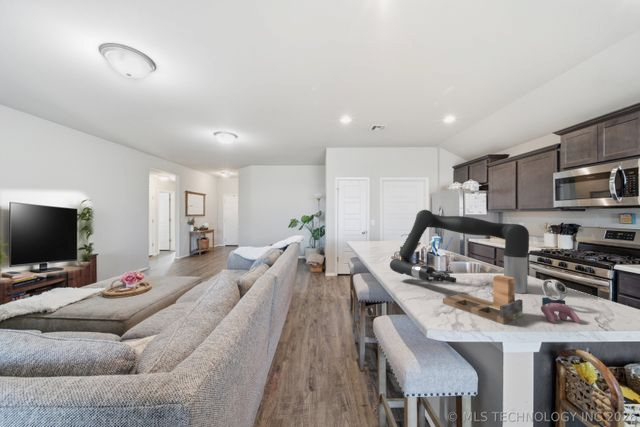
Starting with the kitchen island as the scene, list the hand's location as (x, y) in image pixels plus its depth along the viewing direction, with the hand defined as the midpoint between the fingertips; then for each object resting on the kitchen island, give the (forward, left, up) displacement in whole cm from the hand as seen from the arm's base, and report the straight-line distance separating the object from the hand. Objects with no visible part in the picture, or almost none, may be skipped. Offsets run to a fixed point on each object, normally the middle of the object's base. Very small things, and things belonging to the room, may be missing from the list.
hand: (455, 280), depth 111 cm
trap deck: (+4, +12, -8) cm, 15 cm away
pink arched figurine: (-10, +32, -8) cm, 35 cm away
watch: (-25, +26, -8) cm, 37 cm away
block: (0, +20, -6) cm, 20 cm away
